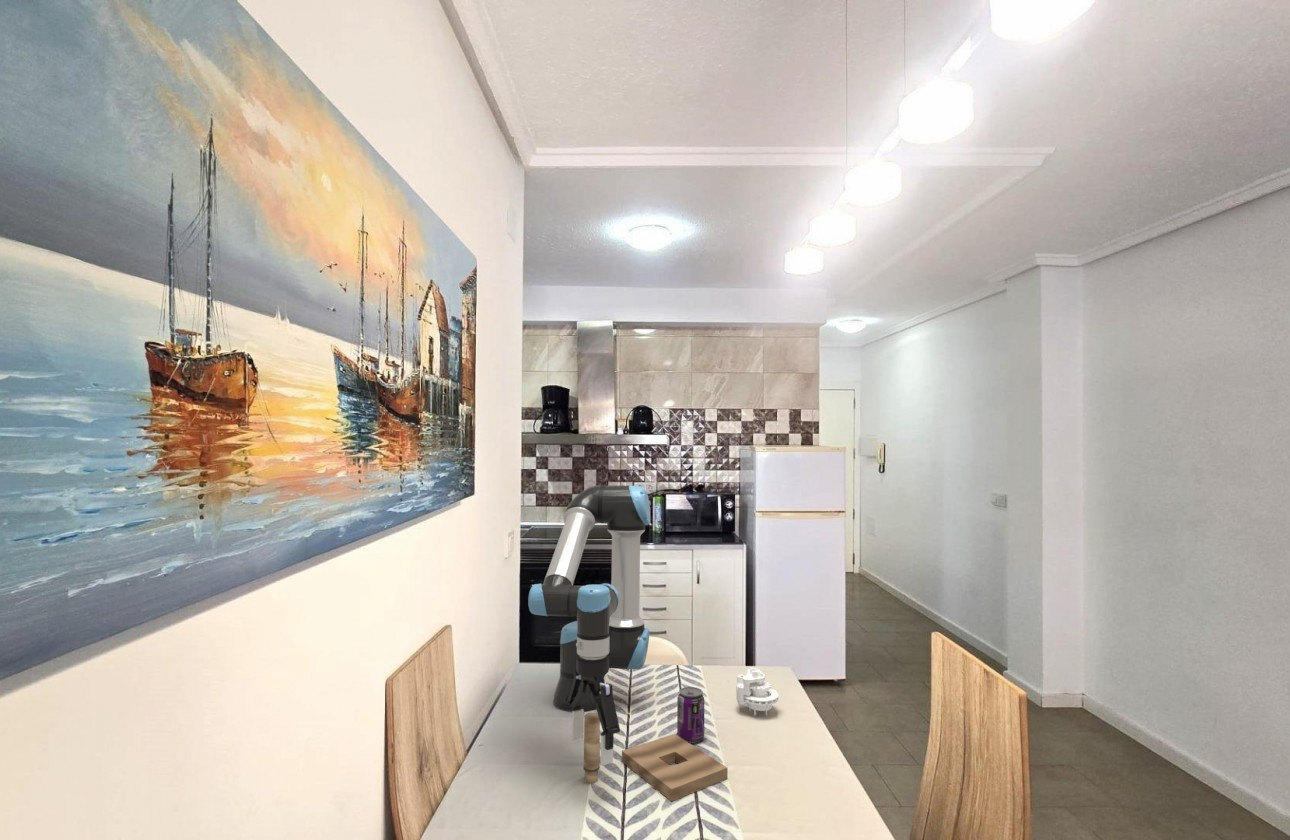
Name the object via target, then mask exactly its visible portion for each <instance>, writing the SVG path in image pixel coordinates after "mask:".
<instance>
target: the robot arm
mask: <svg viewBox="0 0 1290 840" xmlns="http://www.w3.org/2000/svg"><path fill="white" fill-rule="evenodd" d="M648 495H649V494H648V491H647V490H646V488H645V487H643V486H639V485H602V484H600V485H597V484H596V485H593V486H589V487H588V488H585V489H584V490H582V491H581V492H580V493H578V494H576V495H575V497H573V499H572V500H571V501H570V502H569V503H568V505H567V506H566V510H565V511H564V513H563V518H562V519H563V522H564V525H563V527H562V529H561V533H560V535H559V538H558V541H557V544H556V547H555V549H554V553H553V554H552V558H551V561H550V564H549V567H548V569H547V572H546V575H545V577H544V581H543V583H535V584H533V585H532V586H531V587H530V590H529V593H528V598H527V599H528V604H527V605H528V609H529V612H530V613H531V614H533V615H535V616H543V617H544V616H545V617H549V616H550V617H572V618H576V620H575V621H572V622H570V623H567V624H565V625H564V626H563V627H562V629H561V631H560V640H559V644H560V651H559V652H560V655H559V657H560V658H559V659H560V661H559V662H560V663H559V666H560V667H559V669H560V670H559V677H558V680H557V681H558V682H557V684H556V687H555V691H554V694H553V705H554V706H555V707H556V708H557V709H559V710H563V711H565V712H572V715H571V717H572V718H571V724H572V725H571V741H573V742H575V741H578V740H581V739H582V740H583V739H584V716H585V712H587V711H592V710H595V709H596V713H598V716H599V720H600V727H601V730H602V732H600V765H601V766H605V765H608V764H612V763H614V743H615V741H614V740H615V739H614V735H615V734H618V733H620V731H621V728H620V724H619V718H618V715H617V714H618V712H617V709H616V704H615V700H614V693H613V692H614V690H613V684H612V683H607V684H606V683H605V676H606V675H607V674H608V673H609V671H610V669H616V670H617V669H618V670H620V669H621V670H627V671H629V670H641V669H642V668H643V667H644V666H645V662H646V658H647V653H648V648H649V641H650V629H649V628H647V627H645V621H644V619H643V618H642V617H641V615H640V598H641V597H640V591H641V590H640V587H641V585H640V584H641V583H640V579H641V577H640V574H641V569H640V568H641V535H642V534H643V533H644V532H645V531H646V526H648V525H650V524H651V507H650V499H649V496H648ZM596 524H604V525H605V524H606V525H607V526H606V530H607V533H609V534H610V535H611V583H600V584H586V585H574V583H575V579H576V575H577V572H578V569H579V566H580V563H581V559H582V556H583V553H584V550H585V545H586V544H587V539H588V536H589V534H590V531H592V530H593V528H594V527H595V526H596Z"/></svg>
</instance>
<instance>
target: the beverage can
mask: <svg viewBox="0 0 1290 840" xmlns="http://www.w3.org/2000/svg"><path fill="white" fill-rule="evenodd" d="M703 693H704V692H703V690H702V689H700V688H699V687H695V686H683V687H681V688H679V690H678V695H677V699H676V700H677V701H676V702H677V703H676V704H677V705H676V706H677V712H676V713H677V717H676V719H677V720H676V721H677V722H676V724H677V725H676V726H677V728H676V729H677V730H676V735H677V736H679V737H680V738H682V739H684V740H685V741H687V742H691V743H690V744H693V743H692V742H695V743H698V742H700V741H702V740H703V739H704V738H705V697H704V695H703Z"/></svg>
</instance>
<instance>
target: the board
mask: <svg viewBox="0 0 1290 840" xmlns="http://www.w3.org/2000/svg"><path fill="white" fill-rule="evenodd" d="M674 762H676V763H674ZM621 763H623V764H624V765H626V766H627V767H628V768H629V769H630V770H631V771H633V772H634V773H635V774H636V775H638V776H639V777H640V778H641V779H643V780H644V781H645V782H646V783H648V784H649V785H650V786H652V787H653V788H654V789H656V790H657V791H658V792H659V793H660V794H662V795H663V796H664V797H666V799H668V800H669V801H671V802H673V801H675V800H678V798H679V799H681V798H683V797H684V798H685V797H686V796H688V795H691V794H693V793H696V792H698V791H701V790H704V789H706V788H709V787H711V786H713V784H714V785H715V783H716V784H719V783H721V782H724V781H726V780H728V778H729V777H728V767H727V766H726V765H724V764H723V763H721V762H720V761H719V760H717V759H715V758H713V757H712V756H710V755H708V754H707V753H705V752H704V751H703V750H700V749H699V748H697V747H696V746H695V745H694V744H692V743H688V742H687V741H685V740H684V739H682V738H680V737H679V736H677V733H673V734H670V735H667V736H664V737H660V738H658V739H657V738H656V739H654V740H651V741H648V742H645V743H642V744H638V745H636V746H633V747H629V748H625V749H623V750H621ZM677 763H678V764H677ZM672 764H674V765H672ZM720 781H721V782H720ZM708 786H709V787H708ZM700 789H701V790H700Z"/></svg>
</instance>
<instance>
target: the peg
mask: <svg viewBox="0 0 1290 840" xmlns="http://www.w3.org/2000/svg"><path fill="white" fill-rule="evenodd" d="M600 765H601V723H600V720H599V716H598V713H597V712H589V713H586V714H585V713H584V733H583V771H584V781H585V782H586V783H588V784H593V783H594V784H595V783H596V782H598V781H599V770H600V768H601V766H600Z"/></svg>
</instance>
